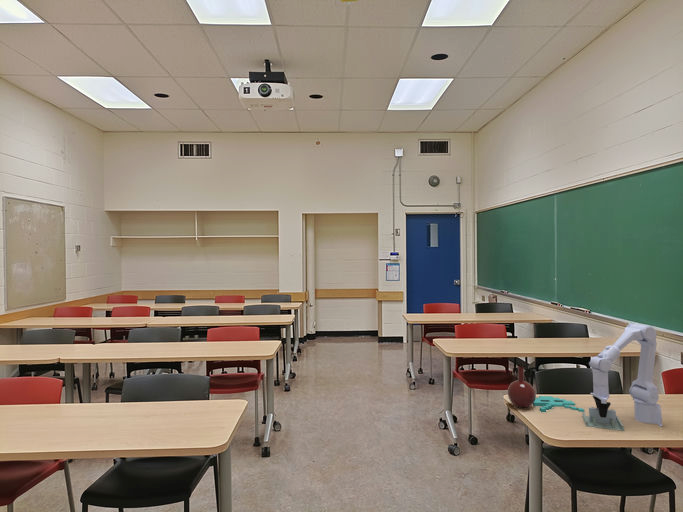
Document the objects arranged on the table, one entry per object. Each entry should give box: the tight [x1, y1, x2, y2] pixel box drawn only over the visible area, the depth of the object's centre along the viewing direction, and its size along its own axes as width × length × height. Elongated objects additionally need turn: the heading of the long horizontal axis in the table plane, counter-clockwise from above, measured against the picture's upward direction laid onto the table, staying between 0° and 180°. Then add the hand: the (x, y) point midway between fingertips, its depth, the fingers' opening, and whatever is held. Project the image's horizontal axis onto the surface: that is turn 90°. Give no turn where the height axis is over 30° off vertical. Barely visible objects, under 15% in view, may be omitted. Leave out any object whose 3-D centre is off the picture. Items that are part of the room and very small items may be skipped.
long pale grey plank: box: [588, 406, 617, 425], centre depth 175 cm, size 10×1×6 cm, turn 64°
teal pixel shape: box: [532, 395, 586, 413], centre depth 200 cm, size 20×2×20 cm
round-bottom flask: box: [507, 366, 537, 409], centre depth 199 cm, size 13×13×20 cm
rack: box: [581, 412, 625, 432], centre depth 175 cm, size 14×13×4 cm
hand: (601, 415), depth 175 cm, fingers open, 5 cm apart
